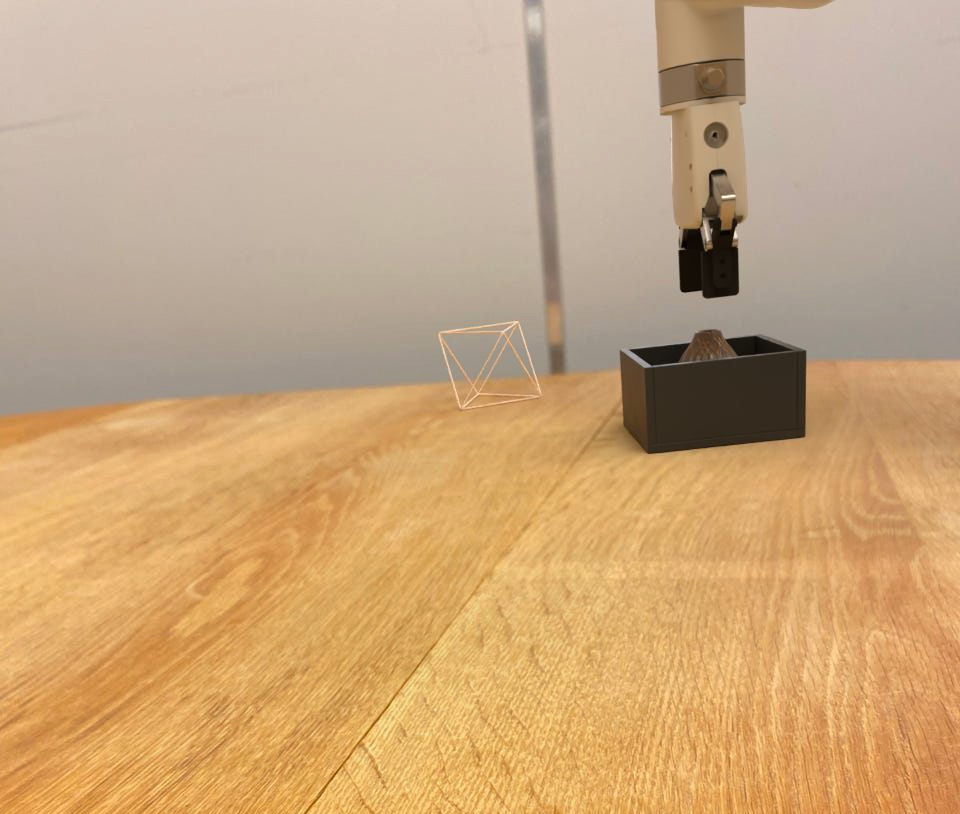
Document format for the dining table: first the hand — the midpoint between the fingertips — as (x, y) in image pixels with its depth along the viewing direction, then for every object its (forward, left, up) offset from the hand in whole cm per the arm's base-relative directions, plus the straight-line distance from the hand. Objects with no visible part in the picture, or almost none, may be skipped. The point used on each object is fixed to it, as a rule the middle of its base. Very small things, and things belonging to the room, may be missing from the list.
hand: (708, 293), depth 100 cm
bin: (0, 0, -13) cm, 13 cm away
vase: (0, 0, -12) cm, 12 cm away
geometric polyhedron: (+20, -32, -13) cm, 40 cm away
